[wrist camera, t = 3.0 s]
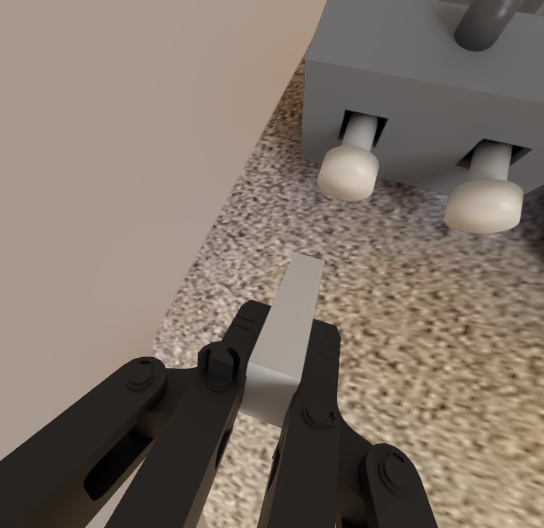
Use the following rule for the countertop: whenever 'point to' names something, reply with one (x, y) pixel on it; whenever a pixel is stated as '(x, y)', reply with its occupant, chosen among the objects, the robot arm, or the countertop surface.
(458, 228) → the knob
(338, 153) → the knob
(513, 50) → the block
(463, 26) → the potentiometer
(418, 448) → the countertop surface
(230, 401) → the robot arm
